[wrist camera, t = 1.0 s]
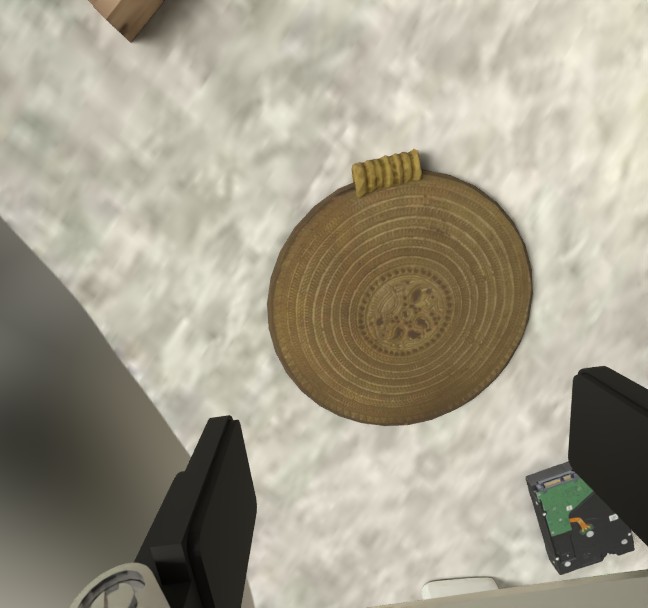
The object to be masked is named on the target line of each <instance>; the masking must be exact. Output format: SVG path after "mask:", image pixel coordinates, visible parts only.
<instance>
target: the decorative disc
mask: <svg viewBox="0 0 648 608" xmlns="http://www.w3.org/2000/svg"><path fill="white" fill-rule="evenodd" d="M352 177H353V183H351V184H349V185H347V186H344V187H342V188H340V189H338V190H336V191H335V192H333V193H332V194H331V195H329V196H328V197H327V198H325V199H324V200H322V201H321V202H320V203H318V204H317V205H315V206H314V207H313V208H312V209H311V210H310V212H309V213H308V214H307V215H306V216H305V217H304V218H303V219H302V220H301V221H300V222H299V223H298V225H297V226H296V227H295V228H294V230H293V231H292V233H291V235H290V236H289V238H288V239H287V241H286V243H285V244H284V246H283V248H282V249H281V251H280V253H279V256H278V259H277V262H276V264H275V267H274V270H273V273H272V275H271V280H270V287H269V294H268V301H267V309H268V324H269V331H270V334H271V338H272V341H273V345H274V349H275V352H276V354H277V356H278V358H279V360H280V362H281V363H282V365H283V367H284V369H285V371H286V373H287V374H288V375H289V377H290V378H291V379H292V380H293V381H294V383H295V384H296V385H297V386H298V388H299V389H300V390H301V391H302V392H303V393H304V394H306V395H307V396H308V397H309V398H311V399H312V400H313V401H314V402H316V403H317V404H318V405H319V406H321V407H323V408H325V409H327V410H329V411H331V412H333V413H334V414H336V415H338V416H341V417H344V418H347V419H350V420H353V421H357V422H360V423H366V424H374V425H382V426H394V425H410V424H415V423H419V422H424V421H428V420H432V419H434V418H437V417H439V416H442V415H444V414H446V413H449V412H451V411H453V410H455V409H457V408H459V407H461V406H462V405H464V404H466V403H467V402H469V401H471V400H472V399H474V398H475V397H476V396H477V395H479V394H480V393H481V392H482V391H483V390H484V389H485V388H486V387H488V386H489V385H490V384H491V383H492V382H493V381H494V380H495V379H496V378H497V377H498V376H499V374H500V373H501V372H502V371H503V369H504V368H505V367H506V366H507V364H508V363H509V361H510V359H511V358H512V356H513V354H514V352H515V351H516V349H517V347H518V346H519V344H520V342H521V339H522V337H523V334H524V331H525V328H526V325H527V323H528V320H529V314H530V308H531V302H532V295H533V291H532V269H531V265H530V262H529V258H528V254H527V250H526V246H525V244H524V242H523V240H522V238H521V236H520V234H519V232H518V230H517V228H516V226H515V224H514V222H513V221H512V220H511V219H510V218H509V216H508V215H507V214H506V213H505V212H504V210H503V209H502V208H501V207H500V206H499V204H498V203H497V202H496V201H494V200H493V199H492V198H490V197H489V196H488V195H486V194H485V193H484V192H482V191H481V190H480V189H478V188H477V187H476V186H473V185H471V184H469V183H467V182H464V181H462V180H460V179H458V178H455V177H453V176H451V175H446V174H441V173H436V172H431V171H426V170H421V166H420V161H419V153H418V150H415V149H413V150H412V151H410V152H409V153H406V152H402V153H400V154H394V155H392V156H390V157H389V156H383V157H381V158H380V159H373V160H368V161H366V162H365V163H355V164H354V165H353V166H352Z"/></svg>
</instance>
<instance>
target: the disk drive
mask: <svg viewBox="0 0 648 608" xmlns="http://www.w3.org/2000/svg"><path fill="white" fill-rule="evenodd" d="M526 481H527V485H528V488H529V489H528V490H529V493H530V496H531V499H532V502H533V505H534V509H535V512H536V516H537V519H538V523H539V526H540V529H541V532H542V536H543V539H544V543H545V548H546V551H547V554H548V557H549V560H550V561H551V563H552V565H553V566H554V567H555V569H556V570H557V572H558V573H559V574H560V575H562V574H565V573H569V572H571V571H574V570H576V569H579V568H583V567H586V566H589V565H593V564H595V563H599V562H601V561H603V559H604V557H606V555H607V553H609V554H617V555H618V556H619V555H622V554H625V553H628V552H631V551H634V550H635V549H634V541H633V537H632V534H631V529H630V528H629V527H628V526H627V525H626V524H625V523H624V522H623V521H622V520H621V519H620V518H619V517H618V516H617V514H616V513H615V512H614V511H613V510H612V509H611V508H610V507H609V506H608V505H607V504H606V503H605V502H604V501H603V500H602V499H601V498H600V497H599V496H598V495H597V494H596V493H595V492H594V491H593V490H592V489H591V488H590V487H589V486H588V485H587V484H586V483H585V482H584V481H583V480H582V479H581V478H580V477H579V476H578V475H577V474H576V473H575V472H574V470H573V469H572V467H571V466H570V463H569V461H568V462H566V463H563V464H560V465H557V466H554V467H551V468H548V469H545V470H543V471H540V472H537V473H534V474H531V475H528V476H526Z"/></svg>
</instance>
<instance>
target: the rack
mask: <svg viewBox="0 0 648 608" xmlns="http://www.w3.org/2000/svg"><path fill="white" fill-rule="evenodd" d="M88 1H89V2H90V3H91V4H92V5H93V7H94V8H95V9H96V10H97V11H98V12H99V13H100V14H101V15H102V16H103V17H104V18H105V19H106V20H107V21H108V22H109V23H110V24H111V25H112V26H113V27H115V28H116V29H117V30H118V31H119V32H120V33H121V34H122V35H123V36H124V37H125V38H126V39H127V40H128V41H129V42H131V41H132V40H133V39H134V38H135V36H136V35H137V34H138V33H139V31H140V30H141V29H142V28H143V26H144V25H145V24H146V23H147V21H148V20H149V19H150V18H151V16H152V15H153V14H154V13H155V11H156V10H157V9H158V8H159V7H160V5H161V4H162V3H163V2H164V0H88Z"/></svg>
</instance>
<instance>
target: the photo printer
mask: <svg viewBox="0 0 648 608" xmlns="http://www.w3.org/2000/svg"><path fill="white" fill-rule="evenodd" d="M496 589H498V587H497V585H496V583H495V581H494V580H493V579H492V578H487V577H483V578H465V579H452V580H442V581H434V582H429V583H427V584H426V585H425V586H424V587H423V590H422V597H423V600H424V599H431V598H439V597H446V596H453V595H460V594H467V593H474V592H482V591H489V590H496Z"/></svg>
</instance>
